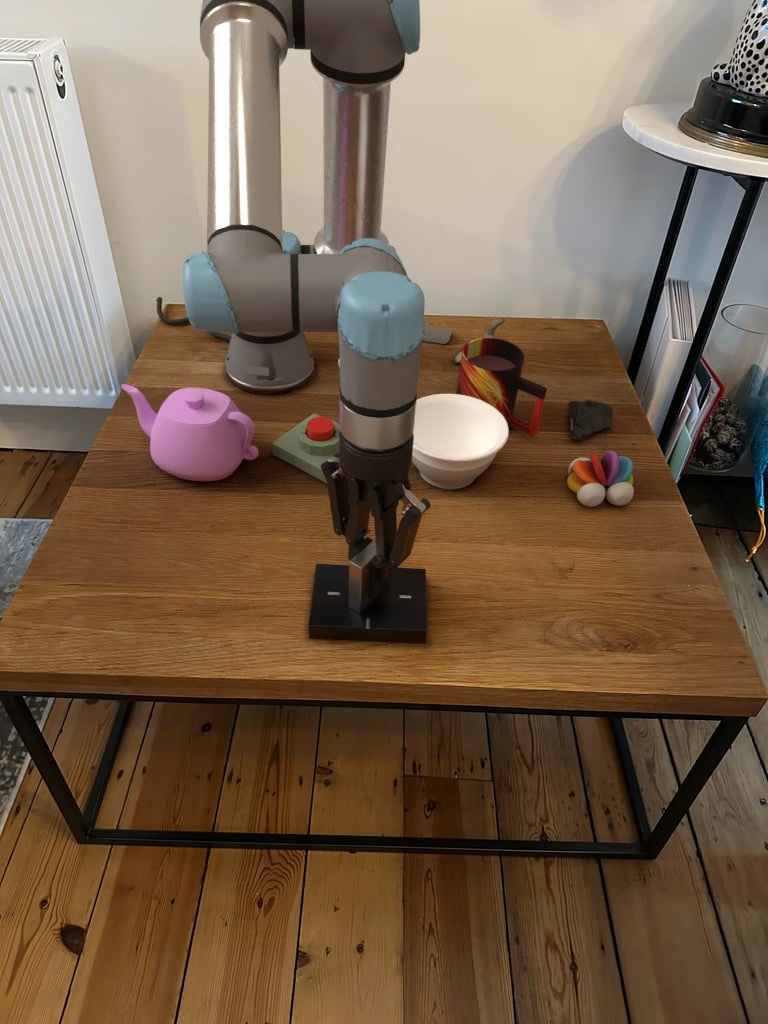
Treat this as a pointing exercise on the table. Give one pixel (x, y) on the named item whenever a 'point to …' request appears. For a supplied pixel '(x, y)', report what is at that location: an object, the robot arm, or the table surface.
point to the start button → (320, 429)
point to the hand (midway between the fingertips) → (369, 586)
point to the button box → (306, 448)
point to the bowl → (456, 438)
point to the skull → (486, 333)
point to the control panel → (369, 608)
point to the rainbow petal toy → (602, 479)
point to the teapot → (196, 433)
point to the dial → (361, 578)
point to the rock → (588, 418)
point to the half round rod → (436, 335)
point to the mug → (499, 380)
